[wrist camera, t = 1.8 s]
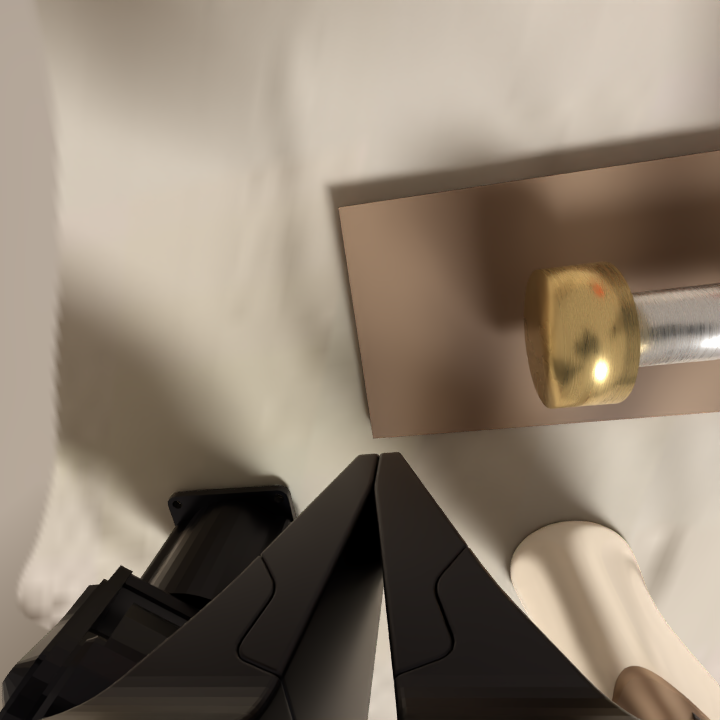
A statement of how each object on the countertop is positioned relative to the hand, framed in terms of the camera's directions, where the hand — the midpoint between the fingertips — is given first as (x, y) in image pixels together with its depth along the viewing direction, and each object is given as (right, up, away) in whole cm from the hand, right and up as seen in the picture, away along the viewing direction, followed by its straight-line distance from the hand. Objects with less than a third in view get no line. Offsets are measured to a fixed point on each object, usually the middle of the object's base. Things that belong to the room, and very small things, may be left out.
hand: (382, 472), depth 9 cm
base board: (+10, +5, +9) cm, 14 cm away
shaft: (+12, +4, +7) cm, 14 cm away
